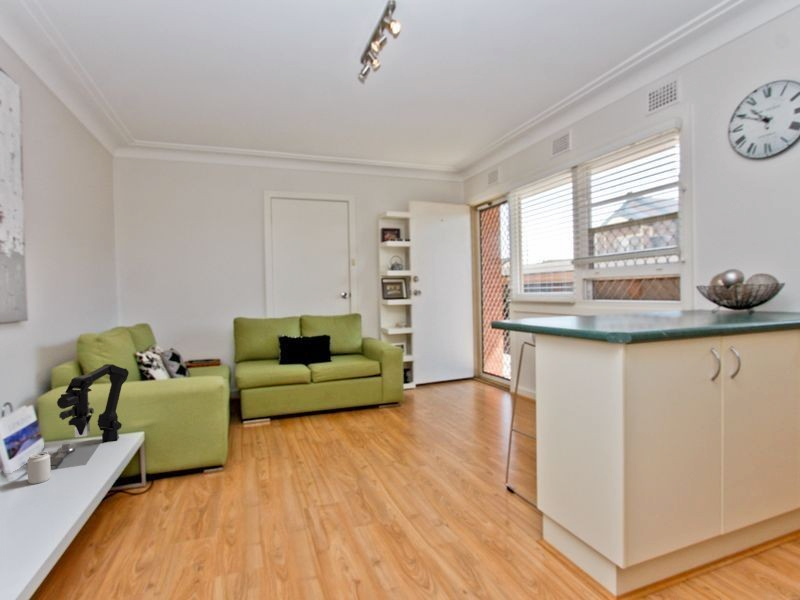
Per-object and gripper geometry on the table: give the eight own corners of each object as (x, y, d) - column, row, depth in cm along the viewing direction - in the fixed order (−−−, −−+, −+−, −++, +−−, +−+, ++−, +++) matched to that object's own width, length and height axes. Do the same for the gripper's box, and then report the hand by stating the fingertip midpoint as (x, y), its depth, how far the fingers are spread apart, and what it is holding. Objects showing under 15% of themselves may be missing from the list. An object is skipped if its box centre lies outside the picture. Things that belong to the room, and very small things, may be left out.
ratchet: (77, 448, 213) (76, 439, 212) (60, 468, 190) (60, 458, 190) (60, 450, 210) (59, 442, 210) (41, 471, 188) (41, 461, 187)
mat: (100, 443, 220) (100, 442, 220) (85, 465, 194) (85, 464, 194) (58, 449, 212) (58, 448, 212) (37, 472, 187) (37, 471, 187)
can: (55, 477, 183) (54, 451, 182) (39, 485, 175) (38, 458, 175) (40, 476, 184) (39, 450, 183) (23, 484, 176) (22, 457, 175)
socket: (89, 432, 209) (89, 422, 209) (87, 435, 205) (86, 426, 204) (77, 434, 207) (77, 424, 207) (74, 437, 203) (74, 427, 202)
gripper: (67, 399, 210) (68, 429, 211) (54, 410, 193) (55, 442, 194) (93, 396, 215) (94, 426, 216) (83, 406, 198) (84, 438, 199)
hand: (82, 433), depth 206 cm, fingers closed on socket, 5 cm apart
